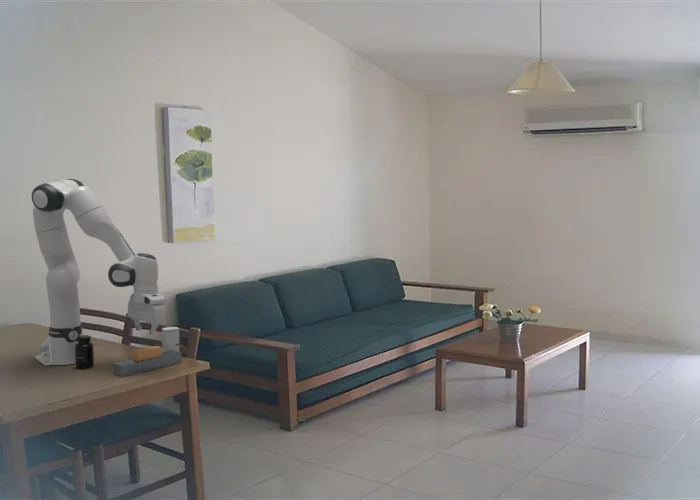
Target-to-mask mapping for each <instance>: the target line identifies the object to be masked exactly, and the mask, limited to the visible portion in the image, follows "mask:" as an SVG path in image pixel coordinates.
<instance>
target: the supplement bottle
mask: <svg viewBox="0 0 700 500" xmlns="http://www.w3.org/2000/svg"><path fill="white" fill-rule="evenodd" d="M91 341H92V339H91V335H88V334H87V335H86V334H85V335H83V334H82V336H78V337H77V342H78V343H77V344H76V345H75V365H74V366H75V368H76V369H77V370H89V369H92V368H93V367H95V349H94V348H95V347H94V344H93V342H91Z"/></svg>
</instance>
